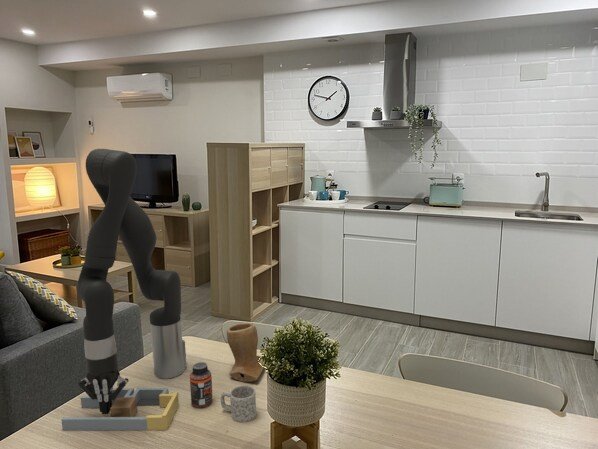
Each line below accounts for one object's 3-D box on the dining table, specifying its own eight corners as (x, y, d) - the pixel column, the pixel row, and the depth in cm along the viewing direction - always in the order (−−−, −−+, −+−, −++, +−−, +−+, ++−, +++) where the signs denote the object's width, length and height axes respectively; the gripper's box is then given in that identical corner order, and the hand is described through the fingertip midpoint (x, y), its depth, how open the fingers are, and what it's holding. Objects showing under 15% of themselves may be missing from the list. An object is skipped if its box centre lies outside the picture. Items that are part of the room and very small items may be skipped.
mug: (260, 410, 126) (259, 387, 125) (249, 424, 120) (248, 400, 119) (227, 404, 129) (226, 382, 128) (215, 417, 123) (214, 394, 122)
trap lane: (62, 430, 119) (61, 419, 118) (90, 397, 134) (89, 388, 133) (151, 429, 118) (150, 419, 118) (169, 397, 133) (168, 387, 132)
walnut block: (111, 423, 121) (110, 408, 120) (118, 412, 126) (117, 397, 125) (131, 423, 121) (129, 407, 120) (137, 412, 126) (135, 397, 125)
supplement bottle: (207, 409, 127) (205, 371, 125) (187, 407, 128) (184, 369, 126) (216, 397, 132) (213, 361, 130) (196, 395, 134) (194, 359, 131)
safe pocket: (147, 429, 118) (146, 415, 118) (161, 405, 129) (160, 392, 128) (166, 429, 118) (165, 415, 117) (178, 405, 129) (178, 392, 128)
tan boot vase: (235, 359, 155) (233, 316, 153) (269, 361, 153) (268, 318, 150) (219, 382, 141) (216, 336, 138) (257, 385, 139) (255, 338, 136)
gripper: (68, 358, 117) (75, 420, 120) (119, 358, 117) (125, 421, 120) (83, 345, 125) (89, 404, 128) (131, 345, 124) (136, 405, 127)
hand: (106, 412), depth 124 cm, fingers closed
